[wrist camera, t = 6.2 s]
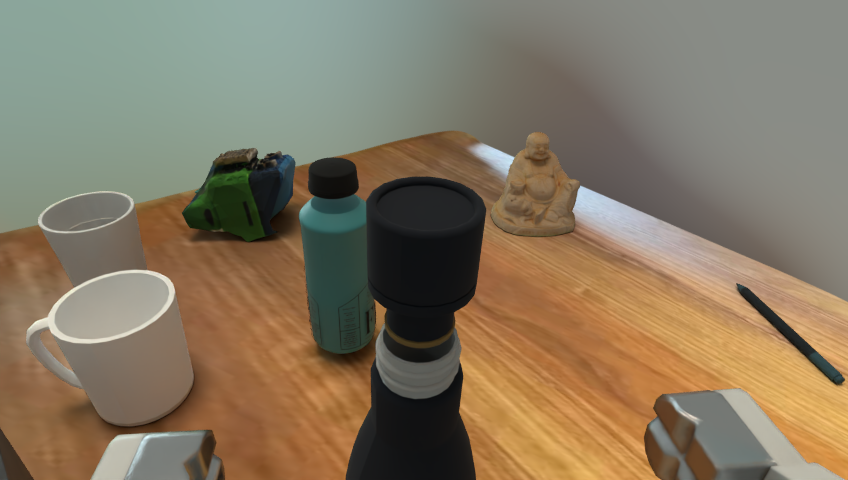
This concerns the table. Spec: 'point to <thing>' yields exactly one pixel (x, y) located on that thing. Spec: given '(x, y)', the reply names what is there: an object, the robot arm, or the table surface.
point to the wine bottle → (419, 329)
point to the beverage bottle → (337, 258)
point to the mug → (120, 345)
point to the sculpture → (242, 194)
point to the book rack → (11, 462)
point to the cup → (94, 235)
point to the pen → (792, 335)
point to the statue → (536, 193)
